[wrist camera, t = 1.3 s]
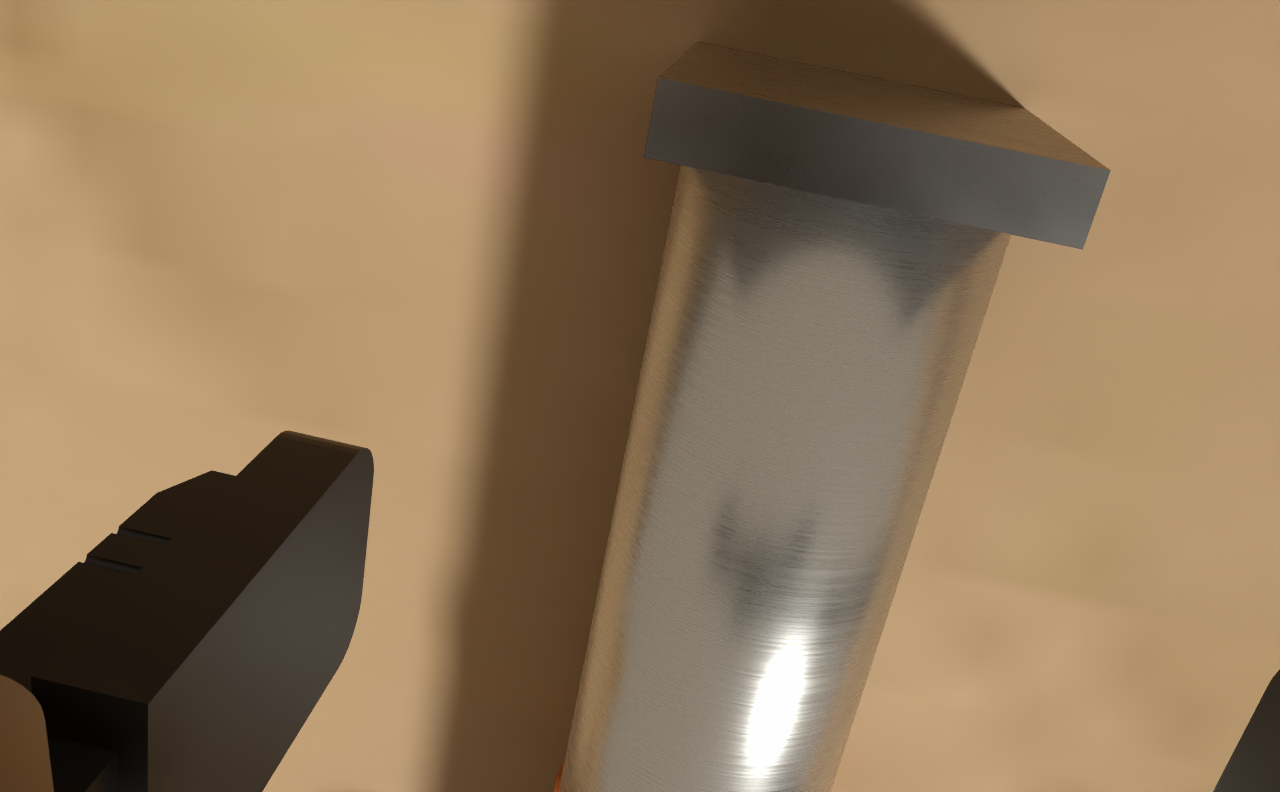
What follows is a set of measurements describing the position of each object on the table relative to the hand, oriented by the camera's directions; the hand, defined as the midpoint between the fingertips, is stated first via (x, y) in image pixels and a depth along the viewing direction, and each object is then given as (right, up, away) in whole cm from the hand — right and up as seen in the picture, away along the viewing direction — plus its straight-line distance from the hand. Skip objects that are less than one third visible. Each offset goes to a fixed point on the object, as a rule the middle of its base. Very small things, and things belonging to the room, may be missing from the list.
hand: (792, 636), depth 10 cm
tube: (0, -2, +13) cm, 13 cm away
